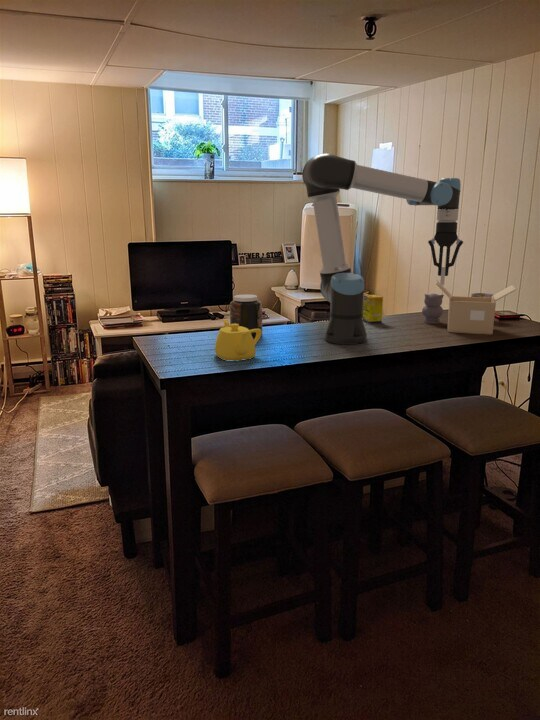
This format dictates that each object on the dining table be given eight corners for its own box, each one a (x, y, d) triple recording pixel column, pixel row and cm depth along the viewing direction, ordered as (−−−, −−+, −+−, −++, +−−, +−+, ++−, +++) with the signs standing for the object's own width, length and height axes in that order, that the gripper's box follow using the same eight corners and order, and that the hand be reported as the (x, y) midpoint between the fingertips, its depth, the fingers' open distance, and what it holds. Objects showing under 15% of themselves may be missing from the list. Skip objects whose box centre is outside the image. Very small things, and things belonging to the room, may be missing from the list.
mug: (497, 320, 230) (500, 295, 228) (479, 322, 227) (481, 297, 224) (477, 315, 241) (479, 291, 238) (460, 317, 238) (462, 292, 235)
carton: (447, 332, 211) (450, 301, 208) (447, 325, 222) (449, 296, 219) (492, 334, 207) (495, 303, 203) (489, 327, 218) (492, 297, 215)
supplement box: (362, 320, 232) (363, 295, 229) (375, 320, 234) (376, 294, 231) (368, 323, 227) (370, 297, 224) (381, 322, 228) (383, 296, 225)
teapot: (274, 362, 173) (274, 328, 170) (226, 367, 167) (225, 333, 164) (250, 346, 192) (250, 315, 189) (207, 350, 187) (206, 319, 184)
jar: (243, 340, 200) (242, 299, 195) (224, 335, 208) (223, 295, 204) (268, 335, 207) (268, 296, 203) (249, 330, 215) (248, 292, 211)
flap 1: (452, 299, 208) (451, 300, 208) (451, 294, 218) (450, 295, 218) (436, 283, 208) (435, 284, 208) (436, 279, 218) (435, 280, 218)
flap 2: (491, 296, 214) (491, 297, 214) (494, 300, 204) (494, 301, 204) (511, 284, 211) (512, 285, 211) (515, 288, 201) (516, 290, 201)
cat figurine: (441, 320, 231) (443, 292, 228) (443, 324, 224) (446, 295, 221) (420, 320, 233) (422, 291, 229) (422, 324, 225) (424, 295, 222)
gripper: (428, 221, 204) (424, 285, 211) (465, 221, 201) (460, 286, 207) (429, 221, 211) (424, 282, 218) (464, 221, 208) (459, 283, 214)
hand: (442, 284), depth 213 cm, fingers closed
